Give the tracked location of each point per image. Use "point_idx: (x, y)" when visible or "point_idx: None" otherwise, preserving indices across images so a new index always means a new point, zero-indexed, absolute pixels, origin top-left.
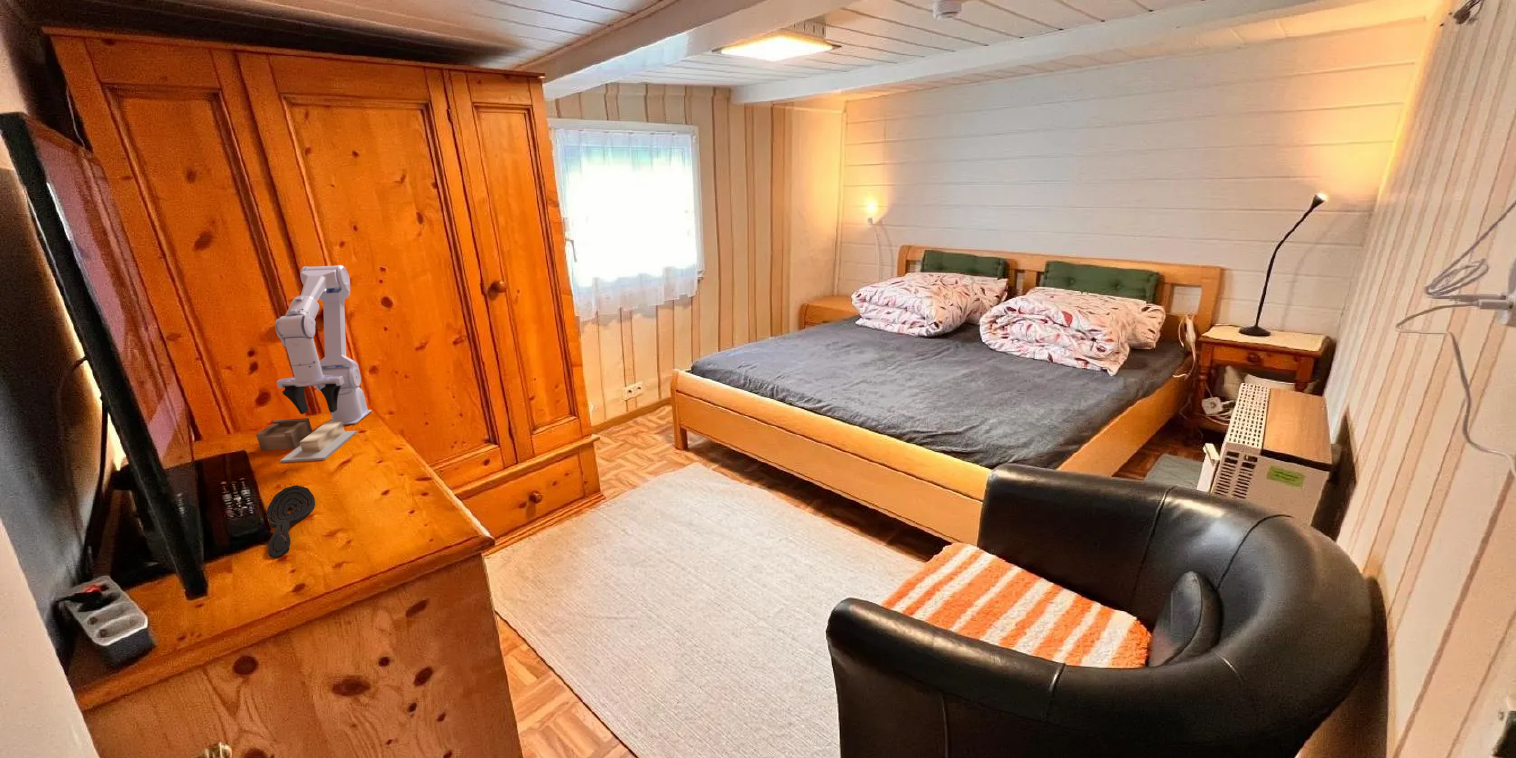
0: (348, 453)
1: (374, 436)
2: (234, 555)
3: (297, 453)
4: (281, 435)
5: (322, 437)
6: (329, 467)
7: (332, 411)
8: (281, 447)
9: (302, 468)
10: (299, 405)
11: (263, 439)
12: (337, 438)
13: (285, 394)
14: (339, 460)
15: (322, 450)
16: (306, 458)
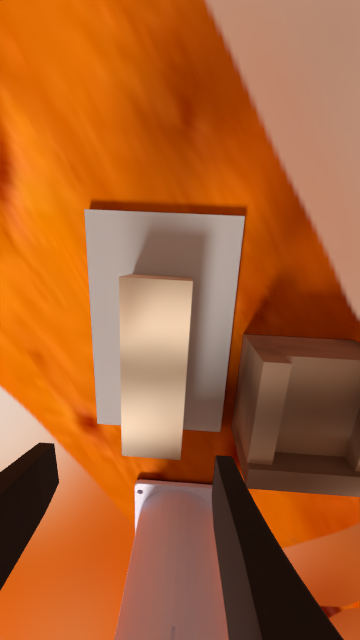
0: (35, 255)
1: (28, 380)
2: None
3: (208, 271)
4: (304, 368)
5: (120, 319)
6: (33, 130)
7: (33, 447)
8: (290, 338)
9: (134, 141)
10: (232, 524)
11: None
12: None
13: None
14: (32, 195)
15: None
16: (150, 214)
